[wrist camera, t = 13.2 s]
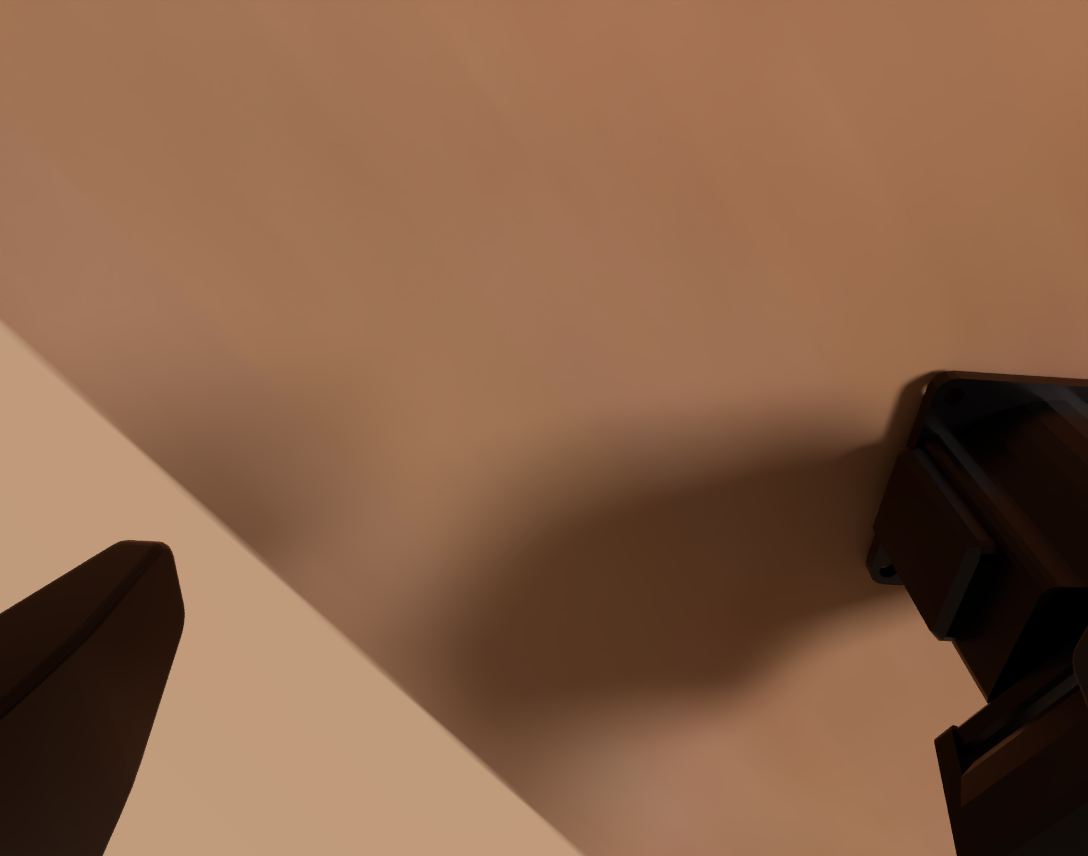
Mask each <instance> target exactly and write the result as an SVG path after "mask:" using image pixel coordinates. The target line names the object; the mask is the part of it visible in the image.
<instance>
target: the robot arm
mask: <svg viewBox="0 0 1088 856" xmlns="http://www.w3.org/2000/svg"><path fill="white" fill-rule="evenodd" d="M956 387H957V391H956V392H955V393H954V395H952V396H950V397H948V398H943V396H944V394H945V393H946V391H948V390H950V389H951V388H956ZM873 531H874V533H875V536H874V539H873V542H872V545H871V548H870V550H869V553H868V556H867V559H866V567H867V570H868V572H869V573H870V575H871V577H872V579H873V580H874V581H875V582H877V583H880V584H889V585H904V586H905V588H906V589H907V591H908V593H909V595H910V596H911V598H912V600H913V602H914V604H915V605H916V607H917V609H918V611H919V612H920V614H921V616H922V618H923V619H924V621H925V623H926V625H927V627H928V628H929V630H930V631H931V632H932V634H933V635H934V636H935V637H936V638H937V639H938V640H939V641H951V642H952V643H953V645H954V647H955V648H956V650H957V652H958V654H959V655H960V657H961V659H962V660H963V662H964V664H965V666H966V667H967V669H968V671H969V672H970V674H971V676H972V678H973V679H974V681H975V683H976V684H977V686H978V688H979V689H980V691H981V693H982V695H983V696H984V698H985V700H986V701H987V703H988V704H987V705H986V706H984V707H983V708H982V709H981V710H979V711H978V712H977V713H975V714H974V715H973V716H972V717H970V718H969V719H968V720H966V721H965V722H964V723H963V724H961V725H960V726H959V727H957V726H955V725H953V726H951V727H950V728H948V729H947V730H946V731H945V732H943V733H942V734H941V735H939V736H938V737H937V738H936V739H934V743H935V748H936V753H937V758H938V763H939V769H940V774H941V779H942V784H943V789H944V794H945V799H946V804H947V809H948V814H949V819H950V824H951V829H952V834H953V839H954V844H955V849H956V854H957V856H1088V380H1085V379H1069V378H1054V377H1039V376H1023V375H1008V374H993V373H977V372H962V371H948V372H944V373H942V374H939V375H937V376H936V377H935V378H934V379H933V380H931V382H930V383H929V385H928V387H927V389H926V392H925V395H924V398H923V400H922V403H921V406H920V409H919V412H918V415H917V417H916V420H915V423H914V426H913V429H912V432H911V434H910V437H909V440H908V443H907V446H906V448H904V449H903V450H902V451H901V452H900V453H899V455H898V457H897V459H896V462H895V465H894V468H893V471H892V474H891V477H890V479H889V482H888V485H887V488H886V491H885V494H884V497H883V499H882V502H881V505H880V508H879V511H878V514H877V517H876V519H875V522H874V525H873ZM890 563H891V564H890ZM886 564H890V565H889V566H888V567H886V568H881V567H882V566H884V565H886ZM184 618H185V612H184V603H183V599H182V594H181V589H180V585H179V580H178V575H177V570H176V565H175V561H174V556H173V553H172V551H171V549H170V547H169V546H168V545H166V544H164V543H163V542H155V541H135V540H126V541H120V542H118V543H116V544H114V545H112V546H110V547H109V548H107V549H106V550H104V551H102V552H100V553H99V554H97V555H95V556H94V557H92V558H90V559H89V560H87V561H86V562H84V563H82V564H81V565H79V566H77V567H76V568H74V569H73V570H71V571H69V572H68V573H66V574H64V575H63V576H61V577H60V578H58V579H56V580H54V581H53V582H51V583H50V584H48V585H46V586H45V587H43V588H42V589H40V590H38V591H37V592H35V593H33V594H32V595H30V596H29V597H27V598H25V599H23V600H22V601H20V602H18V603H17V604H15V605H14V606H12V607H10V608H9V609H7V610H5V611H4V612H2V613H1V614H0V856H103V854H104V851H105V849H106V847H107V844H108V842H109V840H110V838H111V836H112V833H113V831H114V829H115V827H116V824H117V822H118V820H119V818H120V815H121V813H122V810H123V808H124V806H125V803H126V801H127V798H128V796H129V794H130V791H131V789H132V787H133V784H134V781H135V778H136V775H137V772H138V769H139V766H140V764H141V761H142V758H143V754H144V751H145V748H146V745H147V742H148V739H149V736H150V732H151V729H152V726H153V723H154V720H155V717H156V714H157V710H158V707H159V704H160V701H161V698H162V695H163V692H164V688H165V685H166V682H167V679H168V675H169V673H170V670H171V666H172V663H173V660H174V657H175V654H176V651H177V647H178V644H179V641H180V638H181V635H182V631H183V626H184Z"/></svg>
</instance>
